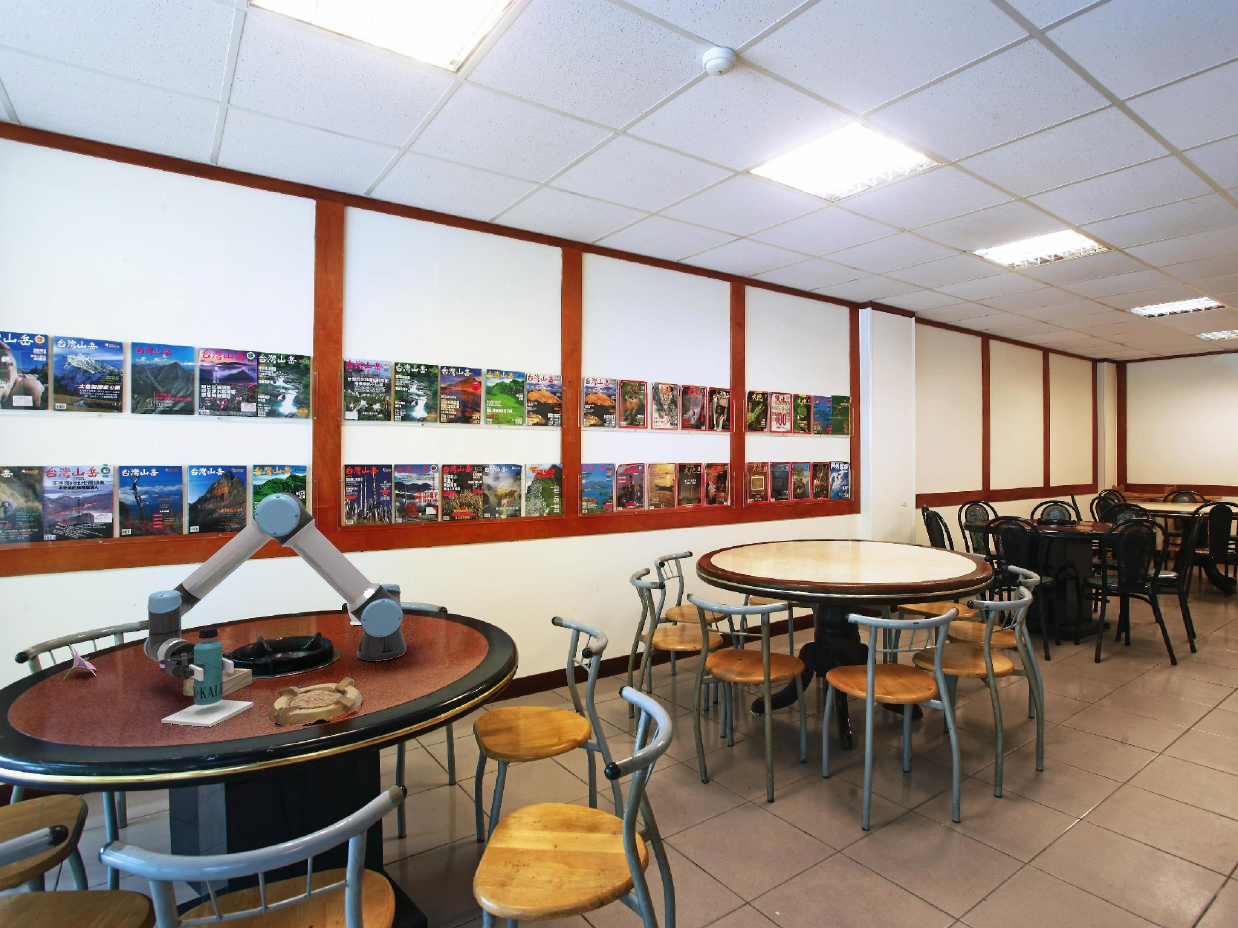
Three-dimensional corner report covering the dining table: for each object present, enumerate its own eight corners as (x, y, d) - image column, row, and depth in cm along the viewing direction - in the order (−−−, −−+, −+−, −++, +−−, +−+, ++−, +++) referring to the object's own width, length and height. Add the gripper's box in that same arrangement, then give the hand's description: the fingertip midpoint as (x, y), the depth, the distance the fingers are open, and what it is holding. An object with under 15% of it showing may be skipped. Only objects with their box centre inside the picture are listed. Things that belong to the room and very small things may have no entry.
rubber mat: (253, 706, 172) (253, 702, 172) (210, 728, 158) (210, 723, 158) (207, 702, 175) (207, 698, 175) (161, 723, 161) (161, 719, 161)
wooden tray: (252, 683, 189) (251, 669, 189) (220, 698, 178) (219, 683, 178) (217, 680, 192) (217, 667, 192) (183, 695, 180) (183, 680, 180)
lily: (81, 687, 190) (101, 655, 193) (37, 674, 187) (58, 641, 191) (98, 687, 200) (116, 656, 204) (56, 675, 198) (76, 643, 202)
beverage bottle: (201, 702, 170) (201, 625, 169) (228, 701, 170) (228, 624, 170) (187, 712, 163) (186, 631, 163) (215, 711, 164) (215, 631, 164)
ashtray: (294, 692, 183) (294, 674, 183) (379, 692, 182) (379, 674, 182) (243, 728, 159) (243, 707, 159) (340, 728, 159) (340, 707, 158)
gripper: (218, 659, 185) (257, 675, 171) (137, 678, 170) (173, 698, 156) (218, 632, 185) (257, 647, 171) (137, 649, 170) (172, 666, 156)
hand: (217, 671), depth 164 cm, fingers closed on beverage bottle, 6 cm apart
